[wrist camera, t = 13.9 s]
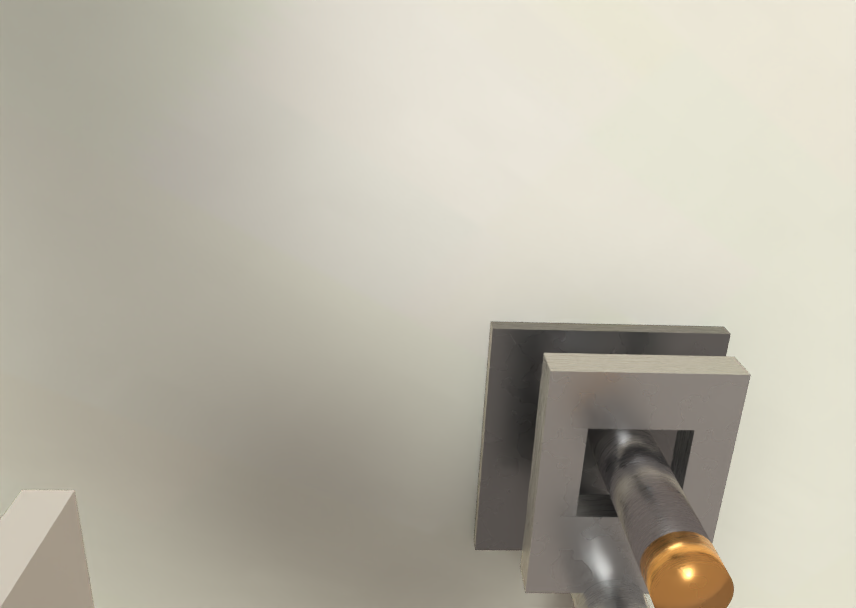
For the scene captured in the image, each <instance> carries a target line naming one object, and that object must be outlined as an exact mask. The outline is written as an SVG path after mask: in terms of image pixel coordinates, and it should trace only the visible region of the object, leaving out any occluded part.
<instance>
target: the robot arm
mask: <svg viewBox="0 0 856 608" xmlns="http://www.w3.org/2000/svg"><path fill="white" fill-rule="evenodd" d="M0 608H94V603H93V597H92V591H91V585H90V579H89V573H88V567H87V561H86V555H85V549H84V543H83V537H82V531H81V525H80V519H79V513H78V507H77V501H76V495H75V490H23V489H22V491H21V492H20V493H19V495H18V496H17V497H16V499H15V500H14V501H13V503H12V504H11V506H10V507H9V508H8V510H7V511H6V512H5V514H4V515H3V516H2V518H1V519H0Z"/></svg>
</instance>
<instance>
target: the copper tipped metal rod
mask: <svg viewBox="0 0 856 608" xmlns="http://www.w3.org/2000/svg"><path fill="white" fill-rule="evenodd" d="M587 441H588V444H589V446H590V449H591V451H592V454H593V456H594V459H595V461H596V463H597V466H598V468H599V471H600V473H601V476H602V478H603V481H604V483H605V486H606V488H607V491H608V493H609V496H610V498H611V500H612V503H613V505H614V508H615V510H616V513H617V515H618V518H619V520H620V523H621V525H622V528H623V530H624V533H625V535H626V537H627V540H628V542H629V545H630V547H631V550H632V552H633V555H634V557H635V560H636V562H637V565H638V567H639V570H640V572H641V574H642V577H643V579H644V582H645V584H646V587H647V589H648V592H649V594H650V597H651V599H652V602H653V604H654V607H655V608H727V606H728V605H729V603H730V602H731V600H732V597H733V593H734V586H733V582H732V579H731V577H730V575H729V574H728V572H727V570H726V568H725V566H724V565H723V563H722V561H721V559H720V557H719V556H718V554H717V552H716V550H715V548H714V546H713V545H712V543H711V541H710V539H709V537H708V536H707V534H706V532H705V530H704V528H703V526H702V525H701V523H700V521H699V519H698V517H697V516H696V514H695V512H694V510H693V508H692V507H691V505H690V503H689V501H688V499H687V497H686V496H685V494H684V492H683V490H682V488H681V487H680V485H679V483H678V481H677V479H676V478H675V476H674V474H673V472H672V470H671V468H670V467H669V465H668V463H667V461H666V459H665V458H664V456H663V454H662V452H661V450H660V448H659V447H658V445H657V443H656V441H655V439H654V438H653V436H652V434H651V432H650V430H639V429H588V433H587Z"/></svg>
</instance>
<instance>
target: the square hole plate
mask: <svg viewBox="0 0 856 608" xmlns="http://www.w3.org/2000/svg"><path fill="white" fill-rule="evenodd" d="M729 339H730V333H729V332H728V331H727V330H726V328H725V327H711V326H666V325H620V324H575V323H529V322H491V325H490V338H489V350H488V363H487V376H486V389H485V402H484V415H483V427H482V440H481V453H480V466H479V479H478V492H477V505H476V517H475V530H474V545H475V550H522V556H521V565H520V569H521V574H522V579H523V584H524V589H525V593H571V596H572V599H573V603H574V607H575V608H650V607H649V605H648V602H647V600H646V597H645V595H644V593H649V592H648V589H647V587H646V584H645V582H644V579H643V577H642V574H641V572H640V570H639V567H638V565H637V562H636V560H635V557H634V555H633V552H632V550H631V547H630V545H629V542H628V540H627V537H626V535H625V533H624V530H623V528H622V525H621V523H620V520H619V518H618V515H617V513H616V510H615V508H614V505H613V503H612V500H611V498H610V496H609V493H608V491H607V488H606V486H605V483H604V481H603V478H602V476H601V473H600V471H599V468H598V466H597V463H596V461H595V459H594V456H593V454H592V451H591V449H590V446H589V444H588V441H587V433H588V429H639V430H650V432H651V434H652V436H653V438H654V439H655V441H656V443H657V445H658V447H659V448H660V450H661V452H662V454H663V456H664V458H665V459H666V461H667V463H668V465H669V467H670V468H671V470H672V472H673V474H674V476H675V478H676V479H677V481H678V483H679V485H680V487H681V488H682V490H683V492H684V494H685V496H686V497H687V499H688V501H689V503H690V505H691V507H692V508H693V510H694V512H695V514H696V516H697V517H698V519H699V521H700V523H701V525H702V526H703V528H704V530H705V532H706V534H707V536H708V537H709V539H710V541H711V543H712V542H713V538H714V533H715V529H716V524H717V520H718V516H719V511H720V507H721V502H722V498H723V494H724V489H725V485H726V481H727V476H728V472H729V467H730V463H731V459H732V454H733V450H734V445H735V441H736V437H737V432H738V428H739V424H740V419H741V415H742V410H743V406H744V402H745V397H746V393H747V388H748V384H749V380H750V374H749V373H748V371H747V370H746V369H745V368H744V367H743V366H742V365H741V363H740V362H739V361H738V360H737V359H736V358H735V357H729V356H726V353H727V348H728V343H729Z"/></svg>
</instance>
